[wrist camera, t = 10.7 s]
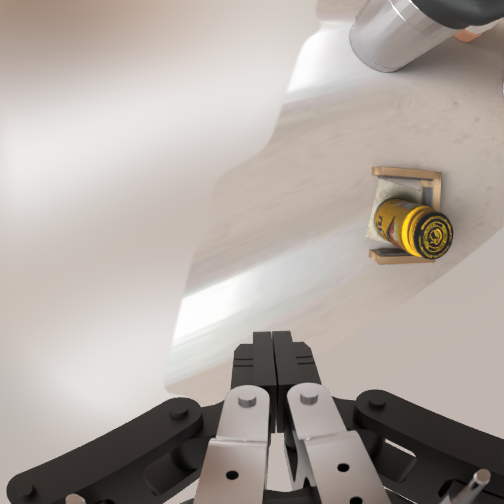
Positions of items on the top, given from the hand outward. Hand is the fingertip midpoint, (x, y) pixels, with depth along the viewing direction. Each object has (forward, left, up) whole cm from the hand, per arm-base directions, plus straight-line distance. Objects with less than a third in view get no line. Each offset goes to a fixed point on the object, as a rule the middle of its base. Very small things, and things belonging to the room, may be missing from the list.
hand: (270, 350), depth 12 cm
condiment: (-2, +19, -29) cm, 35 cm away
